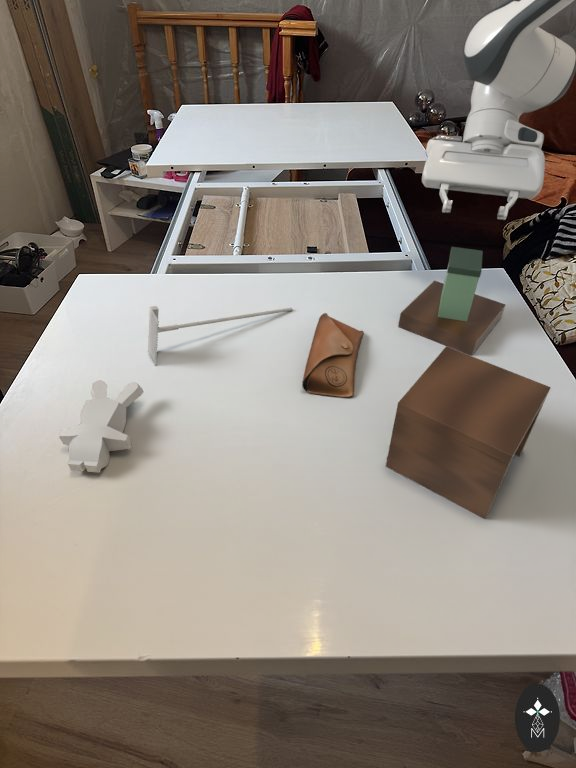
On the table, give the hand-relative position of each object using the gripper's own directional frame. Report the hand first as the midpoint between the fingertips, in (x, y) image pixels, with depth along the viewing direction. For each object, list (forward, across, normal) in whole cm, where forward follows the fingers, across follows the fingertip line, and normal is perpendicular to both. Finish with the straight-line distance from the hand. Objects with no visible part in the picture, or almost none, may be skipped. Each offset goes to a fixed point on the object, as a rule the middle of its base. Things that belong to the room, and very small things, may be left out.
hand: (473, 215), depth 93 cm
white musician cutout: (+49, -46, -26) cm, 72 cm away
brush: (+30, -39, -6) cm, 49 cm away
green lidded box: (+16, 0, +3) cm, 17 cm away
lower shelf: (+18, 0, +5) cm, 19 cm away
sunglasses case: (+31, -18, -7) cm, 36 cm away
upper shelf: (+42, +3, -18) cm, 46 cm away
